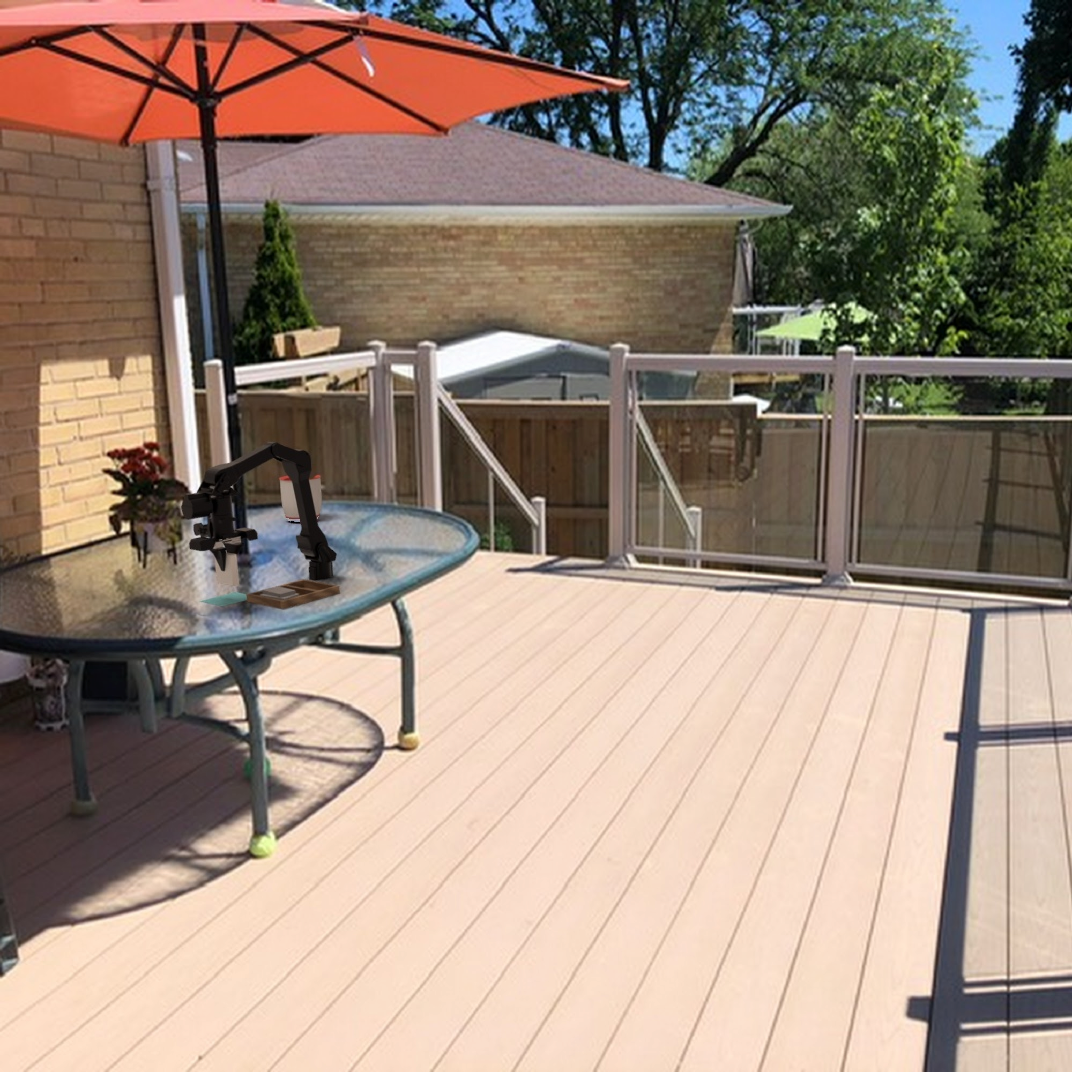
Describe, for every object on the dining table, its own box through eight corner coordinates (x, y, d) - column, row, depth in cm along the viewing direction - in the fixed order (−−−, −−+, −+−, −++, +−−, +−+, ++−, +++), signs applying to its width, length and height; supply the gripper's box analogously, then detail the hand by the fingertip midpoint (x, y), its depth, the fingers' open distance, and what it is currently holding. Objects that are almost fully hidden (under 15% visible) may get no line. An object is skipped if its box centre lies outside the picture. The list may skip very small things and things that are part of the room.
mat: (235, 595, 311) (235, 592, 311) (258, 600, 305) (258, 596, 305) (199, 604, 302) (199, 601, 302) (222, 610, 296) (222, 606, 296)
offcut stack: (275, 596, 305) (274, 585, 305) (301, 601, 299) (300, 590, 298) (256, 601, 300) (255, 590, 300) (282, 606, 294) (281, 595, 293)
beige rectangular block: (222, 581, 306) (220, 551, 304) (239, 584, 301) (236, 554, 300) (216, 583, 304) (214, 552, 302) (233, 586, 300) (230, 555, 298)
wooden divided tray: (303, 589, 316) (303, 579, 315) (340, 596, 307) (339, 585, 306) (247, 604, 301) (246, 594, 300) (283, 612, 292) (282, 601, 291)
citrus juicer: (334, 517, 429) (331, 466, 425) (307, 525, 413) (304, 472, 409) (301, 515, 435) (297, 465, 431) (273, 523, 419) (269, 471, 416)
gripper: (231, 506, 311) (236, 560, 314) (174, 516, 296) (179, 573, 299) (256, 509, 304) (261, 564, 307) (199, 520, 290) (205, 578, 293)
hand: (226, 570), depth 302 cm, fingers closed on beige rectangular block, 2 cm apart
